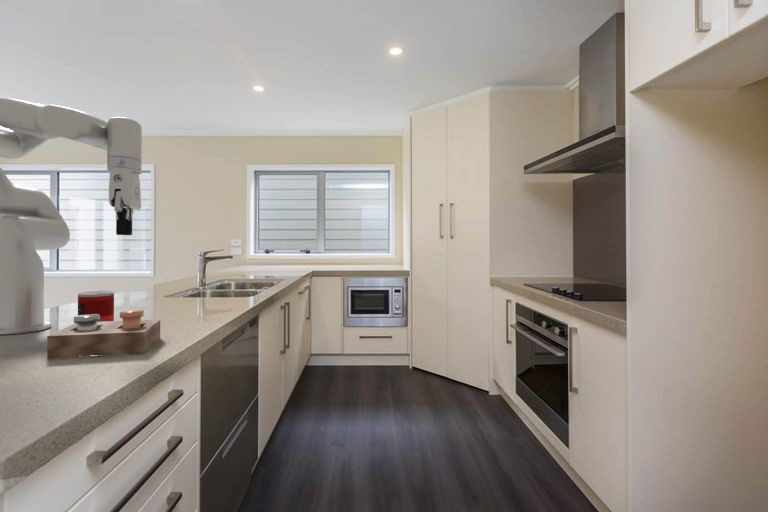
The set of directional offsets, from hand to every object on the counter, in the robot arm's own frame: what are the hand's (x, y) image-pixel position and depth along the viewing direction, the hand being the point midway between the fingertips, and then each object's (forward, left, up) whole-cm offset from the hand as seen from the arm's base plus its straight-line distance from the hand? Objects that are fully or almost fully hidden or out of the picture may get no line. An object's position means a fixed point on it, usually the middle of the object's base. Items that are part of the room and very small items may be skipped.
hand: (124, 234), depth 100 cm
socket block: (+1, -13, -27) cm, 30 cm away
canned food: (-8, +5, -27) cm, 29 cm away
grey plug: (-3, -13, -27) cm, 30 cm away
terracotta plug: (+6, -13, -26) cm, 29 cm away
